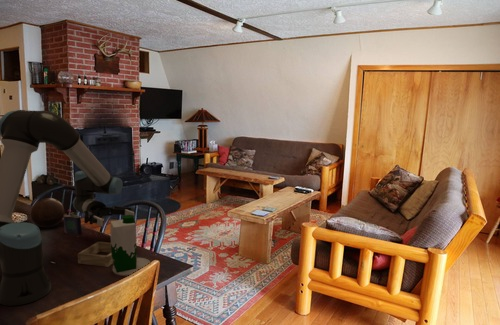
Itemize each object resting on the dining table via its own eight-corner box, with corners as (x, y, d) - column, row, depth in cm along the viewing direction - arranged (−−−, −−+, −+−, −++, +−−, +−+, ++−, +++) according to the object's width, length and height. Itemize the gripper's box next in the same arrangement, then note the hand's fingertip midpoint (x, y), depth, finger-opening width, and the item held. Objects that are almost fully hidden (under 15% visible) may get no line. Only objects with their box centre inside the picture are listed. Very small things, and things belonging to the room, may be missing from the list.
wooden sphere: (69, 227, 184) (67, 198, 181) (36, 233, 174) (33, 204, 171) (60, 220, 195) (58, 193, 192) (28, 226, 184) (26, 198, 182)
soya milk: (139, 269, 136) (137, 218, 133) (114, 274, 132) (111, 222, 128) (134, 260, 143) (132, 212, 140) (110, 264, 139) (108, 215, 136)
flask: (63, 233, 175) (61, 212, 173) (67, 231, 177) (66, 210, 176) (79, 235, 172) (78, 214, 171) (83, 233, 175) (82, 212, 174)
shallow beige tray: (108, 266, 140) (107, 257, 139) (78, 263, 143) (77, 253, 142) (126, 253, 153) (126, 244, 152) (99, 250, 155) (98, 241, 155)
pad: (138, 277, 131) (138, 275, 131) (105, 273, 134) (104, 271, 134) (156, 261, 145) (156, 259, 145) (125, 258, 148) (125, 256, 148)
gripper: (121, 211, 167) (145, 221, 153) (65, 223, 149) (87, 235, 135) (120, 196, 166) (145, 204, 152) (64, 205, 148) (86, 216, 134)
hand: (118, 219), depth 144 cm, fingers open, 13 cm apart
